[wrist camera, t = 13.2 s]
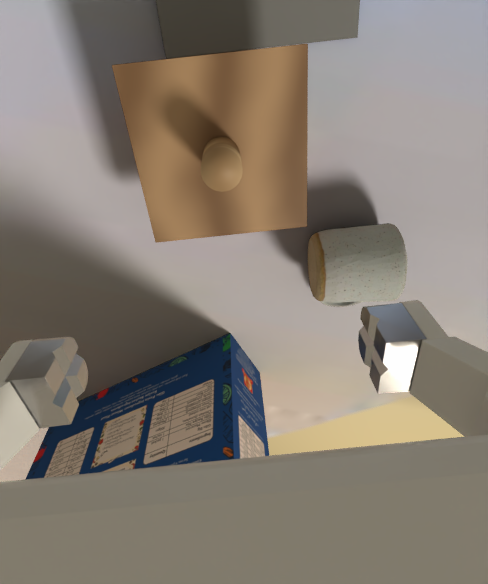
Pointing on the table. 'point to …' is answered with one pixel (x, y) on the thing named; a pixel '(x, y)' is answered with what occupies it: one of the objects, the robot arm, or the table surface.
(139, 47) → the table surface
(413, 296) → the table surface
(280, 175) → the lid
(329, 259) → the ceramic mug
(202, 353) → the pasta box
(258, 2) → the mat
